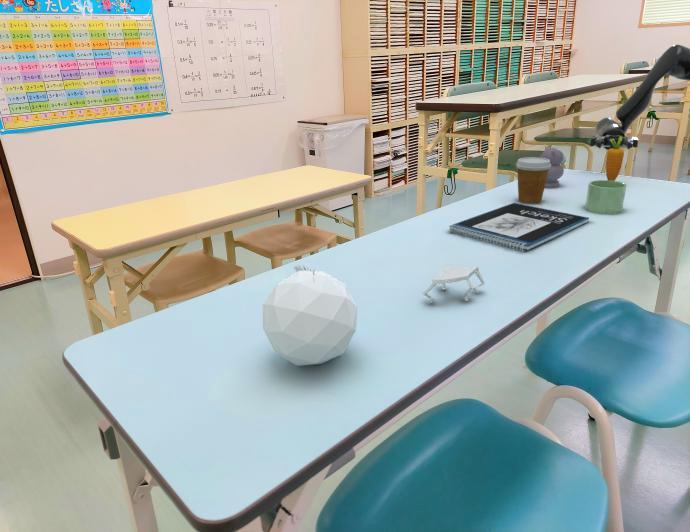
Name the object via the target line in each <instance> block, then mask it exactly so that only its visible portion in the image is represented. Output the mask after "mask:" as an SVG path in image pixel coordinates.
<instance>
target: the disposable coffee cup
mask: <svg viewBox="0 0 690 532" xmlns="http://www.w3.org/2000/svg"><path fill="white" fill-rule="evenodd" d="M515 166H516V170H517V172H516V173H517V192H518V193H517V194H518V195H517V196H518V202H519V203H521V204H525V205H527V204H528V205H536V204H540V203H542V199H543V195H544V192H545V188H546V187H545V183H546V179H547V175H548V171H549V169H550V167H551V164H550V160H549V159H546V158H541V156H540V157H538V156H537V157H536V156H527V157H526V156H525V157H520V158H518V159H517V162H516V163H515Z"/></svg>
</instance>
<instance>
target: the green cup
mask: <svg viewBox="0 0 690 532" xmlns="http://www.w3.org/2000/svg"><path fill="white" fill-rule="evenodd" d="M626 191H627V184H626V183H624V182H621V181H616V180H615V181H610V180H607V179H598V180H596V179H595V180H592V181H589V182H588V185H587V192H586V198H585V199H586V200H585V210H587V211H588V212H591V213H594V214H601V215H616V214H620V213H622V212H623V209H624V203H625V196H626Z"/></svg>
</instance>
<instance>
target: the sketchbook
mask: <svg viewBox="0 0 690 532" xmlns="http://www.w3.org/2000/svg"><path fill="white" fill-rule="evenodd" d="M589 222H590V217H588V216H583V215H577V214H573V213H567V212H563V211H557V210H552V209H547V208H543V207H539V206H532V205H529V204H528V205H527V204H524V203H517V202H512V203H509V204H507V205H503V206H501V207H498V208H496V209H493V210H490V211H487V212H484V213H482V214H479V215H475V216H473V217H470V218H467V219H465V220H462V221H459V222H456V223H453V224H450V225H449V226H448V227H449V229H448V230H449V232H450V233H454V234H457V235H460V236H466V237H468V238H472V239H477V240H480V241H483V242H487V243H490V244H491V243H493V244H494V245H495V244H496V245H499V246H502V247H506V248H509V249H513V250H516V251H520V252H526V251H527V252H528V251H529V250H532V249H535V248H536V247H538V246H540V245H543V244H545V243H547V242H549V241H551V240H553V239H555V238H558V237H560V236H562V235H564V234H566V233H568V232H570V231H572V230H575V229H577V228H578V227H579V228H580V227H581V226H583V225H586V224H587V223H589Z"/></svg>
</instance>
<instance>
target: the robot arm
mask: <svg viewBox="0 0 690 532" xmlns="http://www.w3.org/2000/svg"><path fill="white" fill-rule="evenodd" d="M666 75H668V76H669V77H673V78H675V79H678V80H681V81H688V82H690V47H687V46H684V45H681V44H673V45H671V46H669V47H668V48H667V49H665V51H664V52H663V53H662V55H660V57H659V58H658V60H656V62H655V64H654V65H653V66H652V68H651V69H650V70H649V72H648V73H647V75H646V76H645V77H644V79H643V80H642V82H641V83H640V84H639V86H638V87H637V88H636V90H635V91H634V92H633V93H632V94H631V95H630V97H628V98H627V99H626V101H624V102H623V103H622V105H620V106H619V108H617V110H616V112H615V116H616V118H617V119H618V121H619V122H620V124H619V123H618V122H617V121H616V120H614V119H613V118H610V117H604V118H602V119H599V121H598V122H597V124H596V125H595V128H594V132H595V134H596V136H595V135H591V137H590V143H589V147H594V146H595V147H596V148H598V149H602V148H604V149H605V150H607V151H608V150H609V149H611V148H614V147H613V145H612V143H611V142H610V141H609V140H610V139H611V140H612V139H614V140H615V142H616V145H617V143H618V140H619V136H622V142H621V144H620V146H619V148H620V149H627V150H630V149H631V148H635V149H636V148H638V144H639V138H638V137H636V136H632V137H631V138H629V137H628V136H626V133H627V131H628V130H629V128H630V127H631V125H633V123H634V122H635V121H636V120H637V118H639V117H640V115H641V114H643V113H644V112H645V111H646V109H647V108H648V107H649V106H650V104H651V101H652V98H653V95H654V90H655V88H656V86H657V84H658V83H659V82H660V81H661V80H662V79H663V78H664V77H665V76H666ZM597 136H598V137H599V138H598V137H597Z"/></svg>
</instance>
